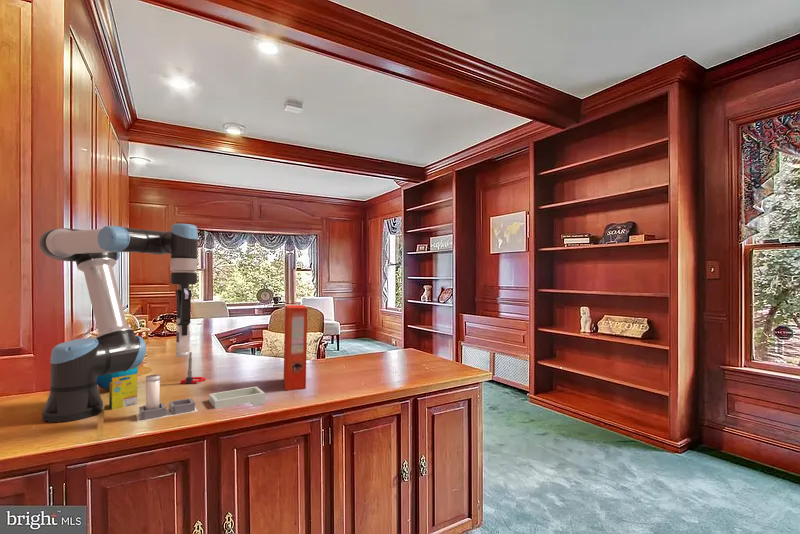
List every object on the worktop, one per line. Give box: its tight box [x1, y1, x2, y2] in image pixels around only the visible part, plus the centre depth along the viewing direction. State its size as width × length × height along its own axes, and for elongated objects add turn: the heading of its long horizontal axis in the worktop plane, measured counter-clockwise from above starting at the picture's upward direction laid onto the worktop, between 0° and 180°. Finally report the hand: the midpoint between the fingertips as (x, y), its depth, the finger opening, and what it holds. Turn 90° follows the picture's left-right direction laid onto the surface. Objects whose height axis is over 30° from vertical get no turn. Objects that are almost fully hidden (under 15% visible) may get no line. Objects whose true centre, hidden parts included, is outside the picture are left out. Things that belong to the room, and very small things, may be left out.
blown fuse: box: [175, 317, 191, 358], centre depth 127 cm, size 4×4×12 cm
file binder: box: [283, 304, 308, 391], centre depth 164 cm, size 8×17×32 cm, turn 19°
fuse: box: [145, 374, 161, 410], centre depth 122 cm, size 4×4×12 cm
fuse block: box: [135, 397, 198, 423], centre depth 124 cm, size 16×8×4 cm, turn 126°
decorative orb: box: [97, 366, 139, 390], centre depth 155 cm, size 15×15×15 cm
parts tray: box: [208, 385, 266, 409], centre depth 137 cm, size 16×10×4 cm, turn 126°
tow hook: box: [180, 351, 206, 385], centre depth 168 cm, size 8×13×9 cm
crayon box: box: [108, 373, 138, 411], centre depth 131 cm, size 7×3×12 cm, turn 141°
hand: (182, 344), depth 127 cm, fingers closed on blown fuse, 4 cm apart
